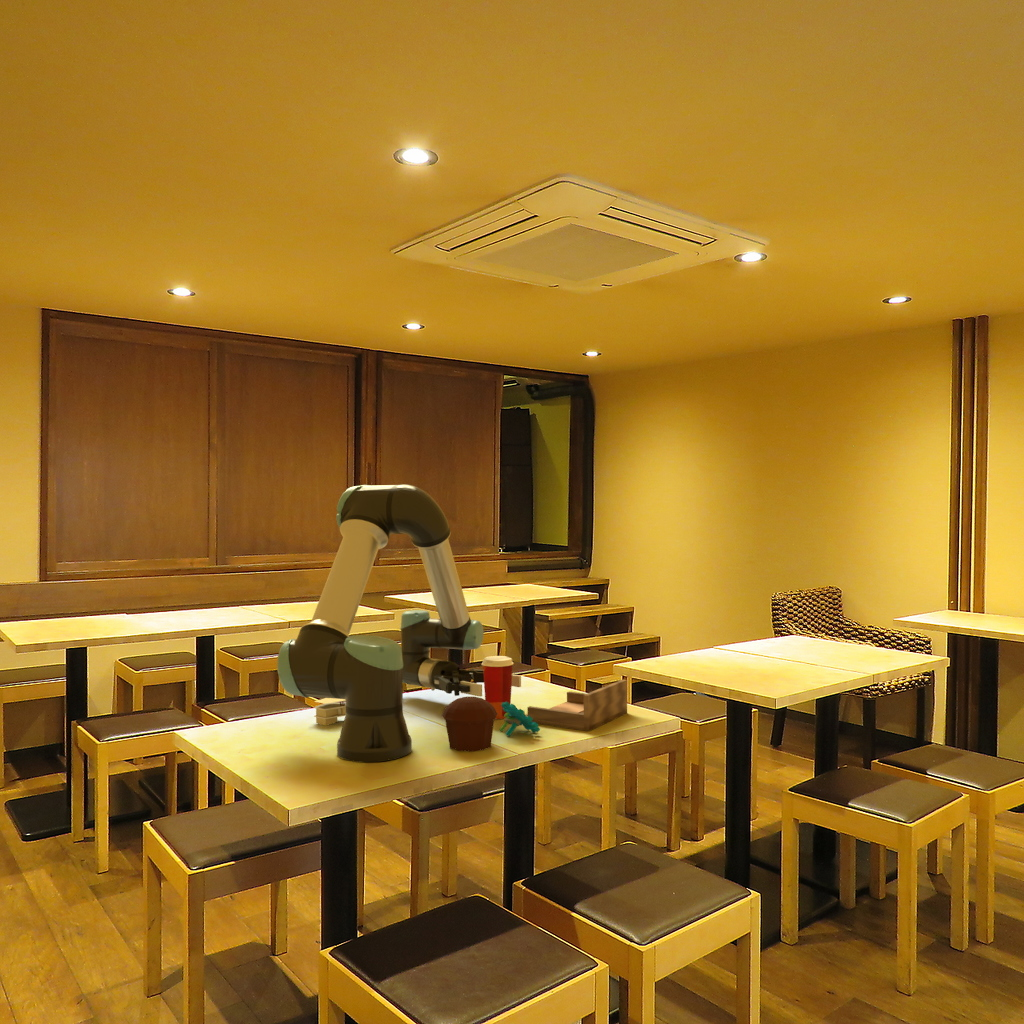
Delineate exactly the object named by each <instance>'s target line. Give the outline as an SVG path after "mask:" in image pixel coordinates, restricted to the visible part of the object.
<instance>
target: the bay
mask: <svg viewBox="0 0 1024 1024" xmlns="http://www.w3.org/2000/svg"><path fill="white" fill-rule="evenodd" d="M626 714H628V680H627V679H620V680H618V681H615V682H613V683H610V684H608V685H606V686H602V687H600V688H598V689H595V690H593V691H590V692H587V693H585V692H576V691H567V692H566V701H565V702H562V703H560V704H557V705H555V706H552V707H549V708H547V707H546V708H545V707H538V706H533V705H532V706H531V705H529V706H527V716H528V715H529V716H530V717H531V718H533V720H532V722H536V723H537V724H538V725H543V726H550V727H558V728H563V729H570V730H571V729H572V730H576V731H577V730H578V731H583V732H590V731H592V730H595V729H597V728H599V727H601V726H603V725H605V724H608V723H609V722H611V721H614V720H616V719H618V718H620V717H622V716H624V715H626ZM615 718H616V719H615Z"/></svg>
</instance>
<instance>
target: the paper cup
mask: <svg viewBox="0 0 1024 1024" xmlns="http://www.w3.org/2000/svg"><path fill="white" fill-rule="evenodd" d="M513 665H514V662H513V658H512V657H509V656H505V655H492V656H491V655H490V656H486V657H484V658H483V660H482V663H481V666H482V670H483V673H484V683H483V687H484V700H486V701H487V702H489V703H490V704H491V705H492V706H493V707H494V708H495V710H496V712H497V716H496V718H495V719H494V720H504V719H505V718H506V717H504V715H505V714H506V712H505V711H504V710H503V707H502V706H501V704H502V703H503V702H504V703H505V702H506V701H507V702H508V703H509V704H510V705H511V704H512V703H511V699H512V698H511V697H512V688H513V686H512V674H513Z"/></svg>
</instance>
